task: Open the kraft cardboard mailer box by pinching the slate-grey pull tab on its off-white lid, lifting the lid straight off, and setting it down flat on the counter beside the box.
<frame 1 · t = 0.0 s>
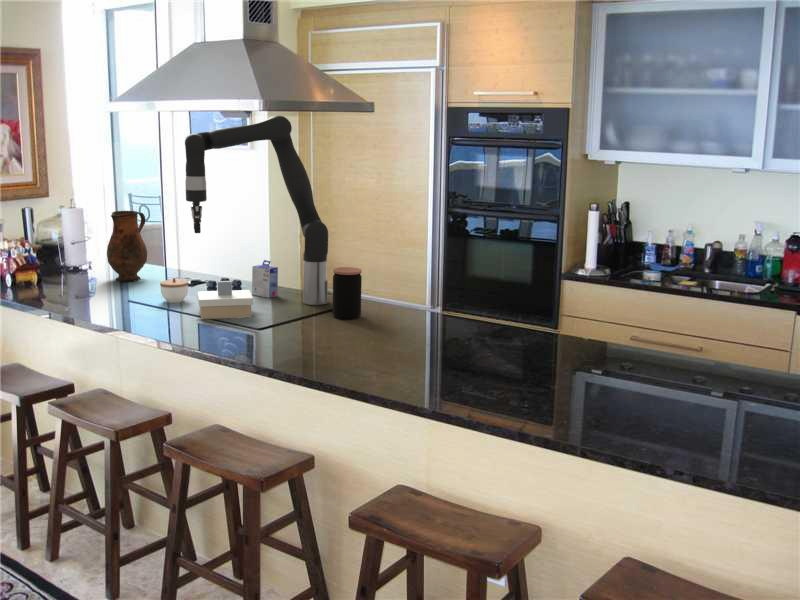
hand: (197, 231, 306), 29 cm above the counter, fingers open, 8 cm apart
pitcher: (131, 279, 359), on the counter
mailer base: (225, 314, 302), on the counter
coffee jar: (346, 317, 304), on the counter
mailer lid: (224, 296, 301), point 7 cm above the counter, touching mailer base
ink cartridge box: (265, 296, 335), on the counter
lidded jar: (174, 301, 321), on the counter
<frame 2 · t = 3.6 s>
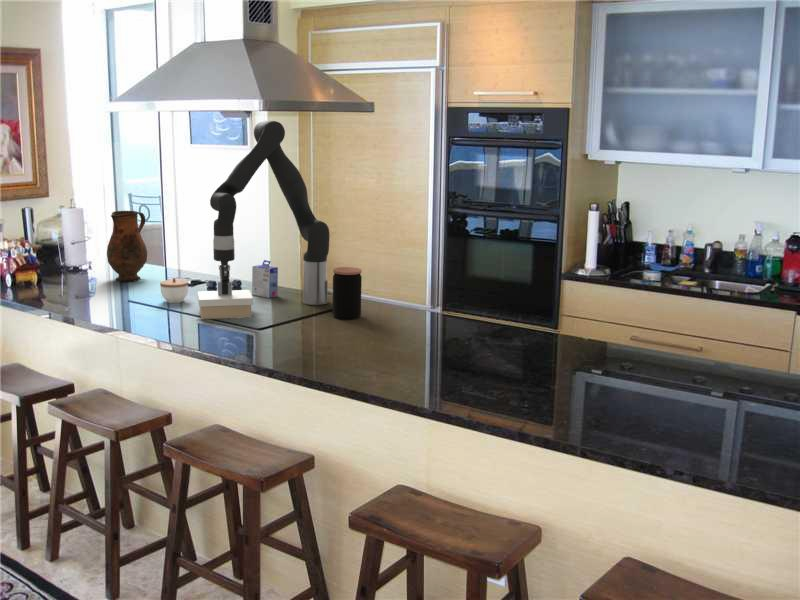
hand: (224, 293, 300), 8 cm above the counter, fingers closed on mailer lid
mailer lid: (224, 296, 301), point 7 cm above the counter, touching gripper
everything else where it was.
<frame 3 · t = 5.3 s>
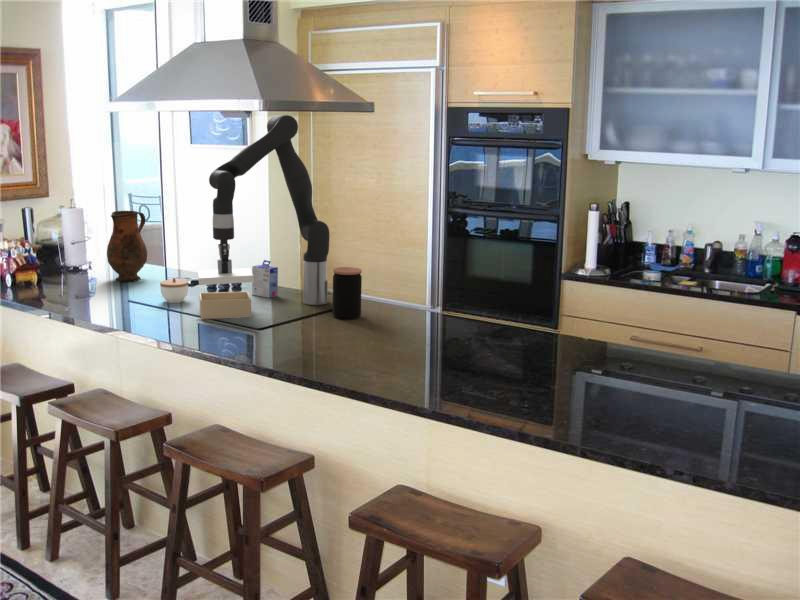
hand: (224, 272, 299), 16 cm above the counter, fingers closed on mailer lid
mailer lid: (225, 274, 299), point 15 cm above the counter, touching gripper
everything else where it was.
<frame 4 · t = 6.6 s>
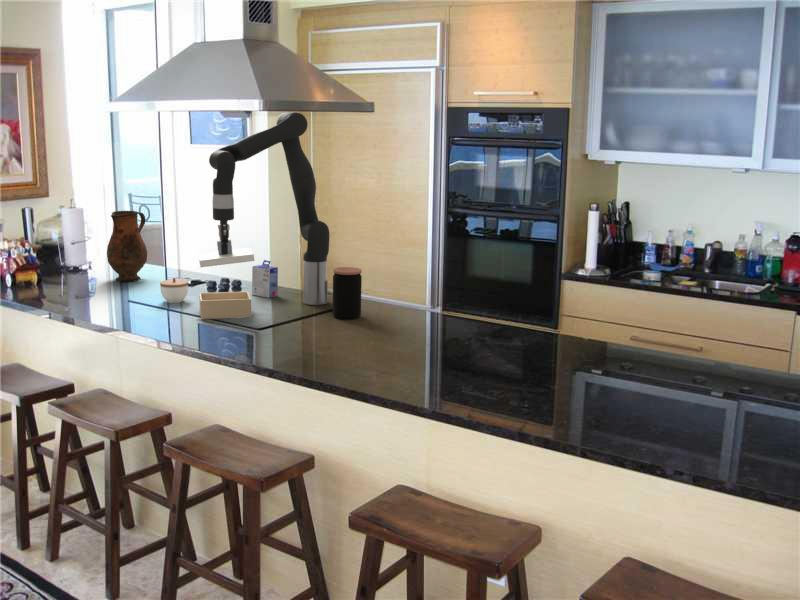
hand: (224, 253, 298), 23 cm above the counter, fingers closed on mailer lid
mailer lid: (225, 255, 298), point 22 cm above the counter, tilted 6°, touching gripper
everything else where it was.
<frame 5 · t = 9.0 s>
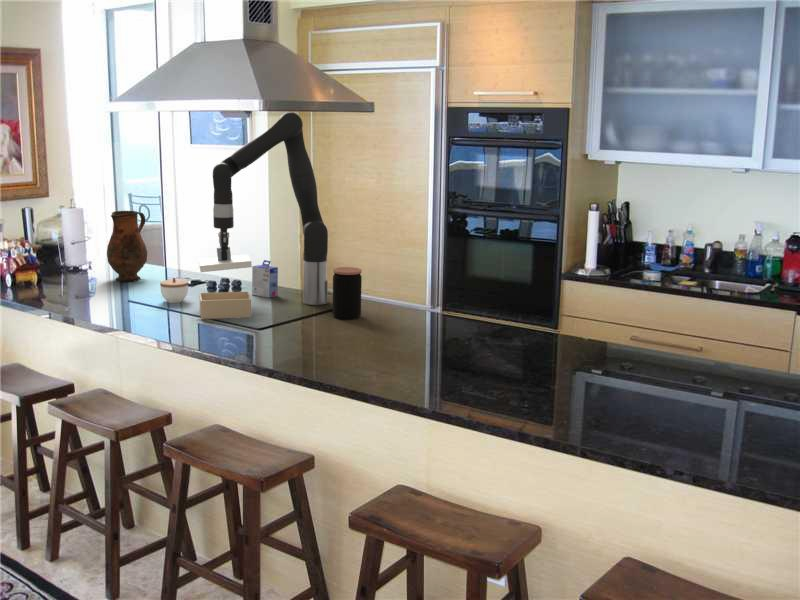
hand: (224, 259, 315), 17 cm above the counter, fingers closed on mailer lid
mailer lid: (224, 261, 315), point 17 cm above the counter, touching gripper
everything else where it was.
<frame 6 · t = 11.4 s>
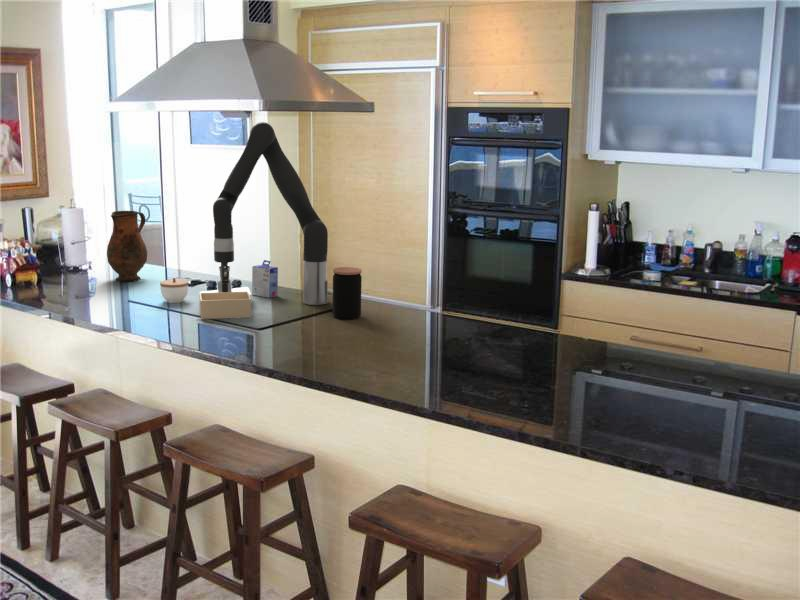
hand: (224, 292, 318), 4 cm above the counter, fingers closed on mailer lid
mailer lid: (225, 294, 318), point 4 cm above the counter, touching gripper
everything else where it was.
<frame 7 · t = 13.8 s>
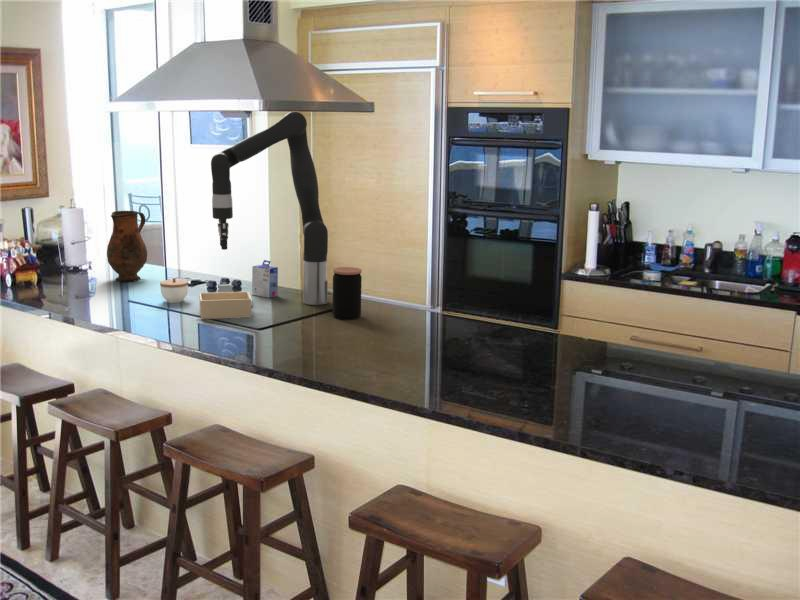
hand: (223, 247, 314), 22 cm above the counter, fingers open, 8 cm apart
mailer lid: (225, 298, 319), point 2 cm above the counter
everything else where it was.
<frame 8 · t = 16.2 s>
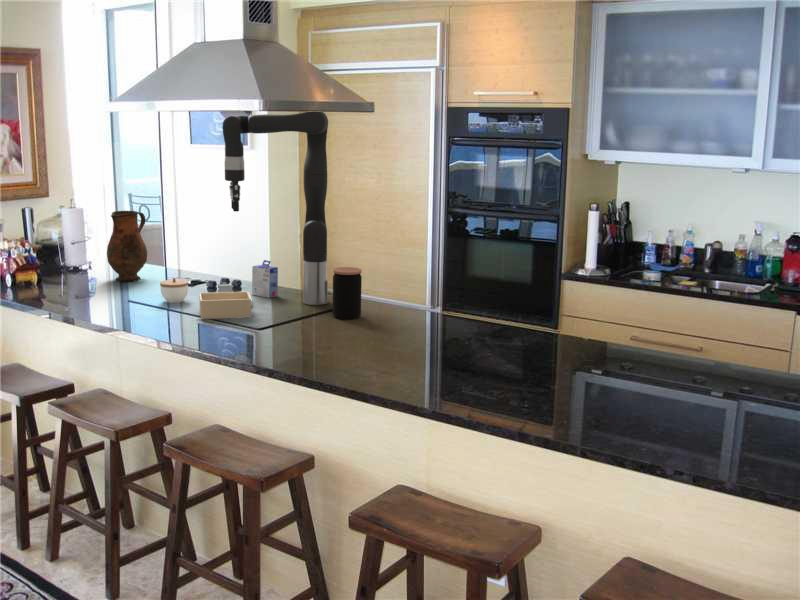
hand: (235, 210, 318), 36 cm above the counter, fingers open, 8 cm apart
nothing on the counter moved.
at the end: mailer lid inside the target area (0.3 cm from its centre), point 2.0 cm above the counter; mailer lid touching counter; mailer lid tilted 0° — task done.
